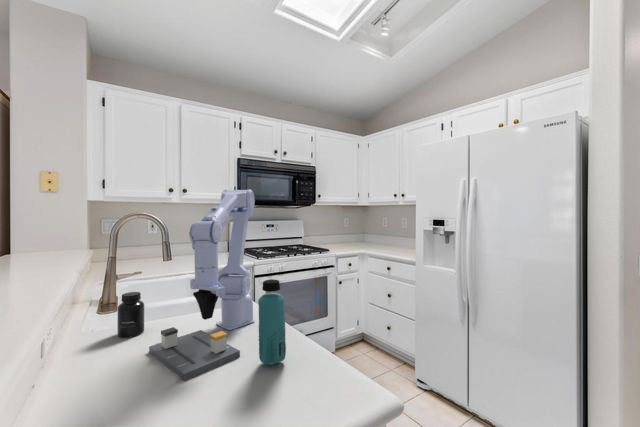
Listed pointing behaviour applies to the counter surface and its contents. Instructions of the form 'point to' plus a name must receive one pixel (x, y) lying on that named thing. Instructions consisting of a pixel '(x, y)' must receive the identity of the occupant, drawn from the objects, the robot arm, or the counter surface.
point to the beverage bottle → (271, 324)
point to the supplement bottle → (130, 315)
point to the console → (192, 355)
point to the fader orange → (218, 342)
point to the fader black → (169, 337)
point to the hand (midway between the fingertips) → (207, 318)
